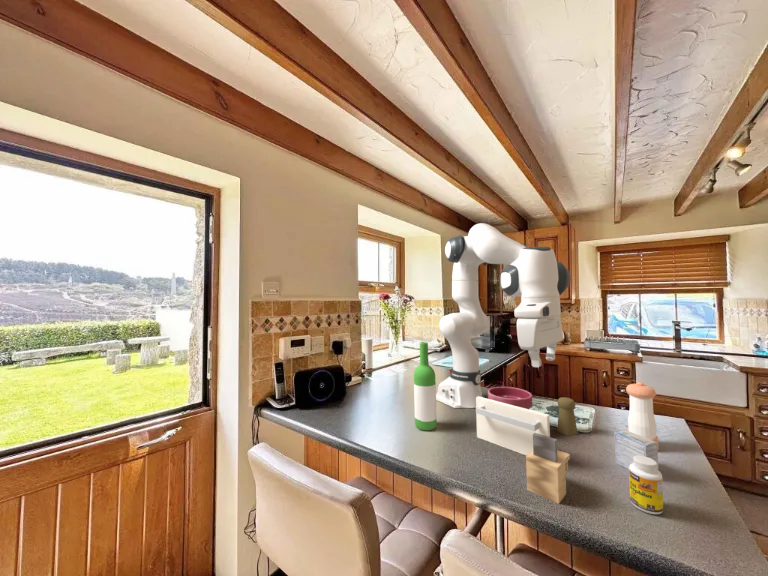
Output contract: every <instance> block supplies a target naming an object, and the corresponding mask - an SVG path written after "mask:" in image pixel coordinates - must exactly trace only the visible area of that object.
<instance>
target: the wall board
mask: <svg viewBox="0 0 768 576" xmlns="http://www.w3.org/2000/svg"><path fill="white" fill-rule="evenodd" d="M475 415H476V416H475V417H476V438H477V439H480V440H481V439H482V440H483V441H486V442H489V443H491V444H495V445H497V446H500V447H501V448H502V447H503V448H504V449H508V450H511V451H514V452H516V453H518V454H521V455H523V456H525V457H526V456H527V455H528V454H529V453H530V452H531V451H532V450H533V434H534V433H538V434H541V435H544V436H548V437H551V432H550V431H551V430H550V427H551V426H550V414H548V413H544V412H540V411H536V410H532V409H530V408H529V409H525V408H521V407H518V406H514V405H510V404H506V403H502V402H498V401H494V400H491V399H488V397H487V398H485V397H484V396H482V397H479V396H478V397H476V408H475Z"/></svg>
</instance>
